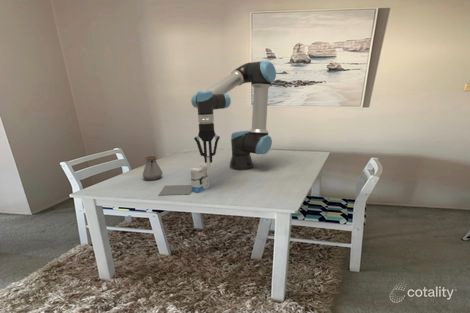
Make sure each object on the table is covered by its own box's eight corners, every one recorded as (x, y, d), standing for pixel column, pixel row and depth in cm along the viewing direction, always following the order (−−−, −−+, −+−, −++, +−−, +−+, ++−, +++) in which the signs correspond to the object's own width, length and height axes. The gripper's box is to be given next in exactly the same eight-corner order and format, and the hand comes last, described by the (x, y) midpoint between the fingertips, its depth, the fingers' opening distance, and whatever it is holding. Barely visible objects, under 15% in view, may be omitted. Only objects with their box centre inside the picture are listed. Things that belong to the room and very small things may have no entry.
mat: (194, 185, 163) (194, 184, 163) (190, 194, 150) (190, 193, 150) (165, 186, 164) (164, 185, 164) (158, 195, 150) (158, 195, 150)
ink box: (199, 192, 152) (197, 170, 149) (191, 191, 154) (189, 169, 152) (209, 187, 159) (207, 166, 156) (201, 186, 161) (200, 165, 159)
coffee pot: (142, 177, 182) (139, 152, 178) (162, 174, 185) (159, 150, 182) (143, 188, 162) (140, 161, 158) (165, 185, 165) (162, 158, 162)
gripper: (191, 124, 145) (195, 171, 150) (219, 123, 144) (221, 170, 150) (194, 122, 152) (197, 167, 157) (219, 121, 152) (222, 166, 157)
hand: (208, 168), depth 154 cm, fingers closed
